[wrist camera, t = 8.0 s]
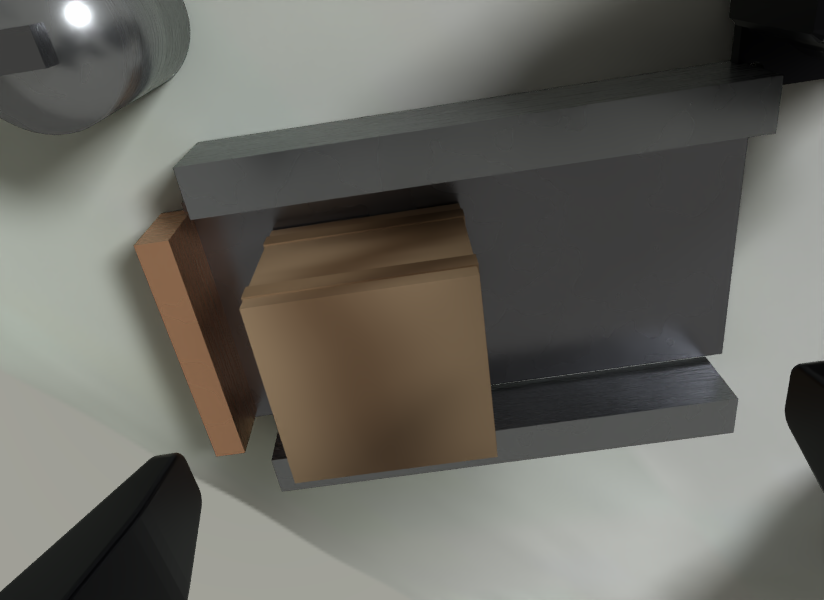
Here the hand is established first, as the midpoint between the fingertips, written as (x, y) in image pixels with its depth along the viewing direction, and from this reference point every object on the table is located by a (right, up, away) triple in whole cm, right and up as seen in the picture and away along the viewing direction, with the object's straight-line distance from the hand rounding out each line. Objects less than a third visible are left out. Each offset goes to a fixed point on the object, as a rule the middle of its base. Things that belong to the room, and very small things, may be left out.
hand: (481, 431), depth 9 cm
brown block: (-2, +2, +12) cm, 13 cm away
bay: (-1, +5, +11) cm, 12 cm away
